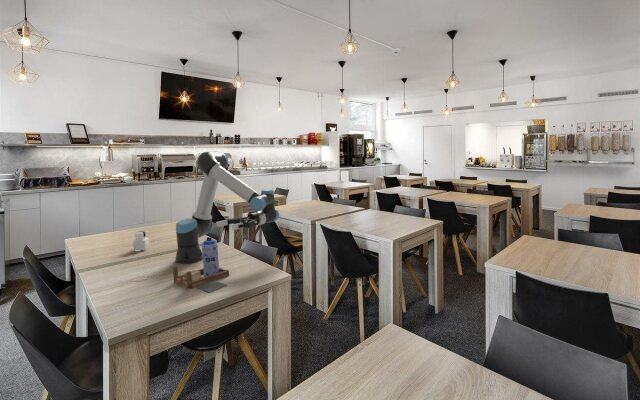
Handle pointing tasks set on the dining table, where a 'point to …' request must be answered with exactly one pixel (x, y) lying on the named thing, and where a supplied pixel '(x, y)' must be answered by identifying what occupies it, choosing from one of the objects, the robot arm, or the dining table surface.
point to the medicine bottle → (141, 241)
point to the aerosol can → (210, 257)
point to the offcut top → (192, 273)
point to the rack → (190, 284)
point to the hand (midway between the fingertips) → (224, 226)
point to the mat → (212, 286)
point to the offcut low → (193, 279)
